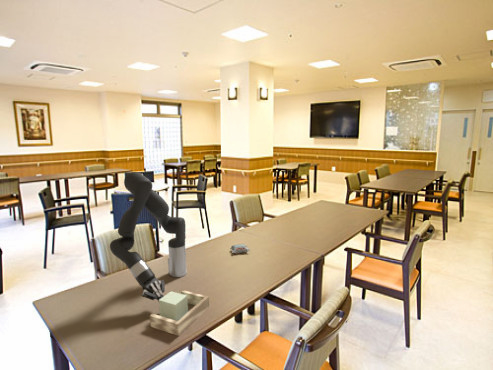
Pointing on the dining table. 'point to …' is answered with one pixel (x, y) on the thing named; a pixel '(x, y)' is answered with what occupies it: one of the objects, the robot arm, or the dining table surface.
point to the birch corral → (187, 319)
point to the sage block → (173, 306)
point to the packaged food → (239, 248)
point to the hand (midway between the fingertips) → (164, 303)
